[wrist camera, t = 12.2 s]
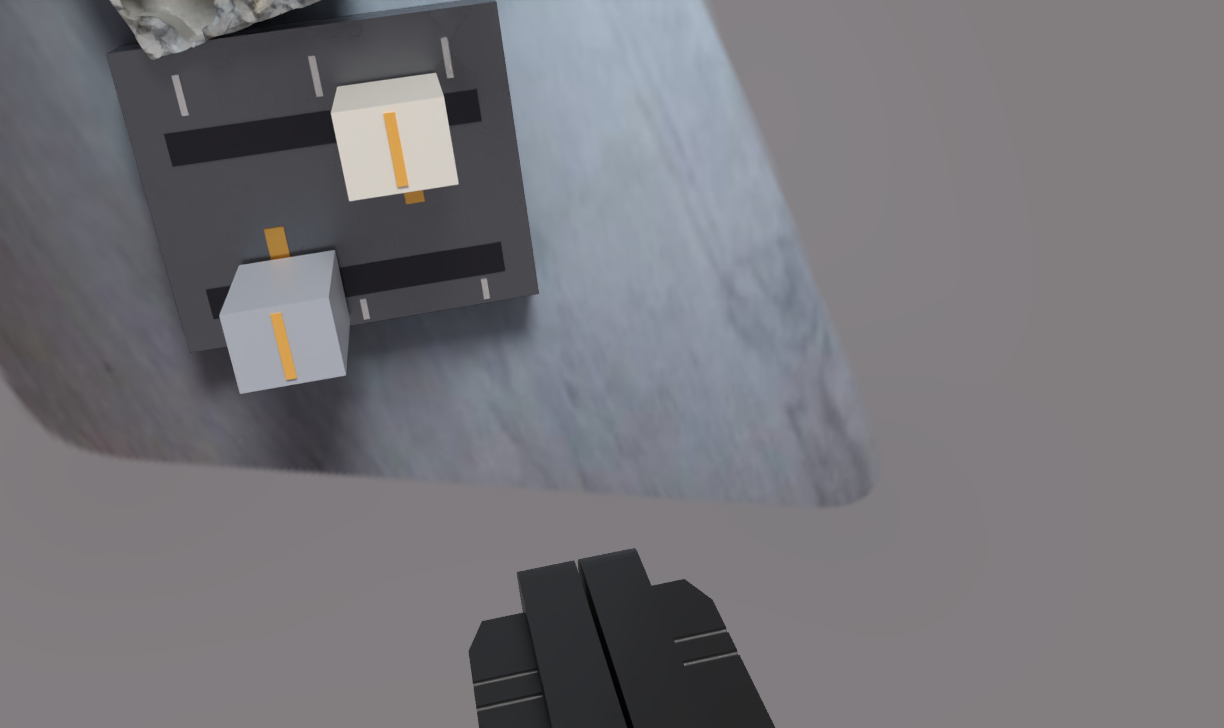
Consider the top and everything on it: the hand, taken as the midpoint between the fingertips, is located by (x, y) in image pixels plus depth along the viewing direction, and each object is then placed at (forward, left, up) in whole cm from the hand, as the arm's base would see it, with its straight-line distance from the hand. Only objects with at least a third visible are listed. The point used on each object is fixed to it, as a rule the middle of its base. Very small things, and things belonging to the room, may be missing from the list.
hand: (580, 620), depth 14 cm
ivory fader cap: (-2, -2, -24) cm, 24 cm away
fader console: (-1, -4, -26) cm, 27 cm away
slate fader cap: (+3, -6, -24) cm, 25 cm away
